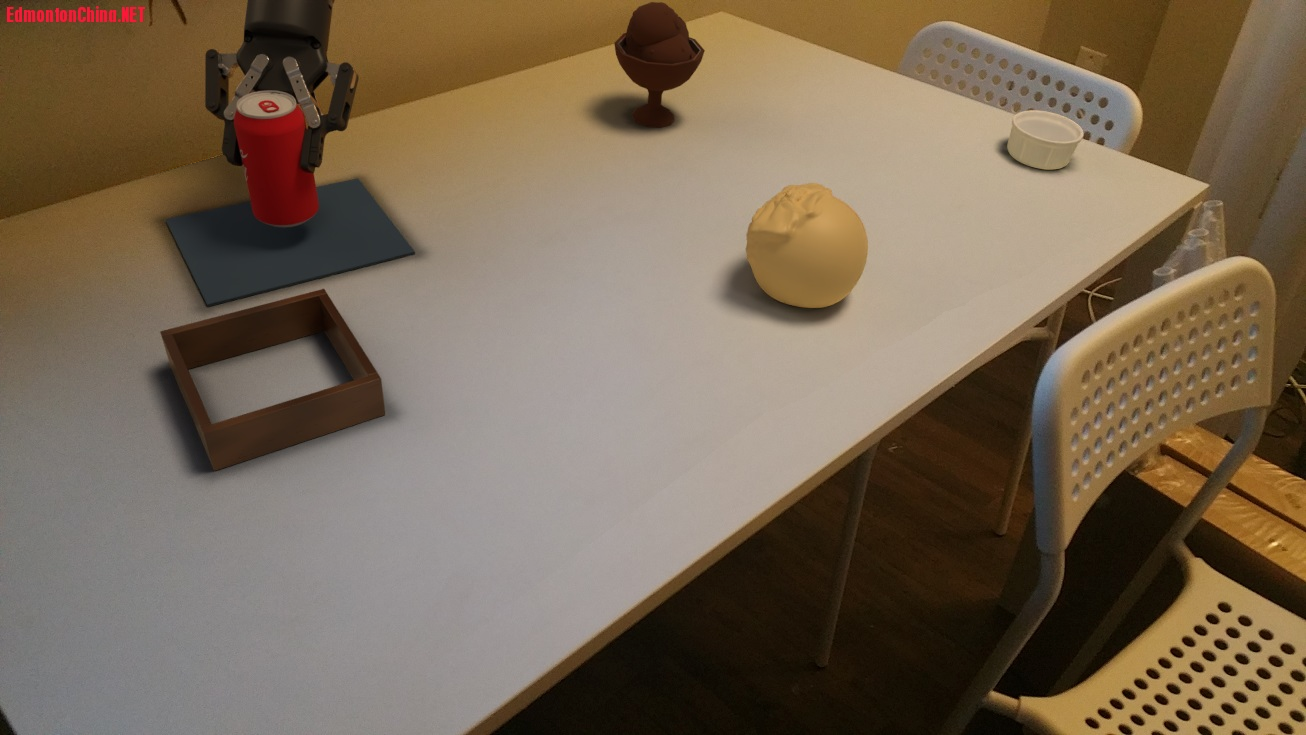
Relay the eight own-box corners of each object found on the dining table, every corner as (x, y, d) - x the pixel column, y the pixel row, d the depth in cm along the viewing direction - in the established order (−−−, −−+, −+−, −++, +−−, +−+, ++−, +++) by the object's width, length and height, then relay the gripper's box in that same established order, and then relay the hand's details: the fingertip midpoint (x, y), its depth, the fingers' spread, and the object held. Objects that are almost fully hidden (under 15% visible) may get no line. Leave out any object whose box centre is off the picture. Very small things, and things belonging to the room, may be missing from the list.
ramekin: (1062, 180, 124) (1075, 149, 121) (994, 157, 127) (1004, 126, 124) (1078, 154, 130) (1091, 124, 127) (1013, 133, 133) (1023, 103, 130)
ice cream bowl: (697, 140, 123) (712, 22, 114) (608, 133, 123) (616, 13, 113) (694, 102, 131) (708, -11, 122) (611, 96, 131) (618, -19, 121)
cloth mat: (207, 306, 90) (207, 304, 90) (165, 221, 100) (165, 218, 99) (415, 254, 99) (415, 251, 99) (358, 180, 109) (358, 178, 109)
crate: (214, 471, 75) (203, 433, 72) (170, 368, 83) (159, 331, 81) (385, 414, 81) (381, 378, 79) (329, 323, 90) (324, 288, 87)
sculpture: (765, 243, 106) (782, 153, 99) (870, 280, 103) (896, 190, 96) (720, 294, 98) (735, 200, 91) (832, 337, 95) (857, 243, 88)
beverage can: (303, 192, 101) (285, 82, 93) (330, 220, 98) (314, 108, 90) (243, 209, 98) (219, 96, 90) (269, 239, 95) (246, 124, 87)
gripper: (198, -31, 90) (176, 148, 89) (356, -15, 90) (336, 163, 89) (231, 5, 97) (210, 171, 96) (377, 20, 98) (358, 185, 96)
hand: (271, 166), depth 93 cm, fingers closed on beverage can, 6 cm apart
